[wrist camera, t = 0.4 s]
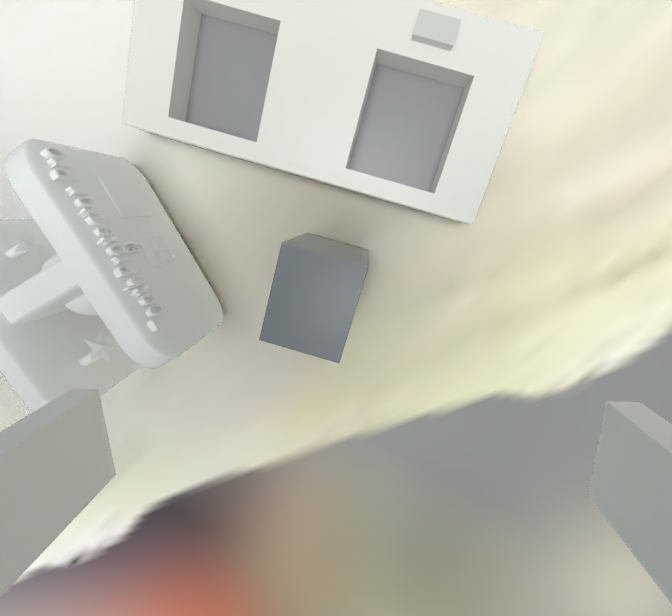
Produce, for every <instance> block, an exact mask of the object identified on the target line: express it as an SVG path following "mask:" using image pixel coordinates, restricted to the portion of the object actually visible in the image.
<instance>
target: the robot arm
mask: <svg viewBox="0 0 672 616" xmlns="http://www.w3.org/2000/svg"><path fill="white" fill-rule="evenodd" d="M115 475H116V473H115V469H114V464H113V459H112V454H111V449H110V444H109V439H108V435H107V430H106V425H105V420H104V415H103V410H102V405H101V400H100V396H99V391H98V389H71V390H69V391H67V392H66V393H64V394H62V395H61V396H59V397H57V398H56V399H54V400H53V401H51V402H49V403H48V404H46V405H44V406H43V407H41V408H39V409H38V410H36V411H34V412H33V413H31V414H29V415H28V416H26V417H25V418H23V419H21V420H20V421H18V422H16V423H15V424H13V425H11V426H10V427H8V428H6V429H5V430H3V431H2V432H0V597H1V596H2V595H3V594H4V593H5V592H6V590H7V589H8V588H9V587H10V586H11V585H12V584H13V583H14V582H15V581H16V580H17V579H18V578H19V577H20V576H21V575H22V574H23V572H24V571H25V570H26V569H27V568H28V567H29V566H30V565H31V564H32V563H33V562H34V561H35V560H36V559H37V558H38V557H39V556H40V554H41V553H42V552H43V551H44V550H45V549H46V548H47V547H48V546H49V545H50V544H51V543H52V542H53V541H54V540H55V539H56V538H57V536H58V535H59V534H60V533H61V532H62V531H63V530H64V529H65V528H66V527H67V526H68V525H69V524H70V523H71V522H72V521H73V520H74V518H75V517H76V516H77V515H78V514H79V513H80V512H81V511H82V510H83V509H84V508H85V507H86V506H87V505H88V504H89V503H90V502H91V500H92V499H93V498H94V497H95V496H96V495H97V494H98V493H99V492H100V491H101V490H102V489H103V488H104V487H105V486H106V485H107V484H108V482H109V481H110V480H111V479H112V478H113V477H114V476H115ZM588 496H589V498H590V499H591V500H592V501H593V503H594V504H595V505H596V507H597V508H598V509H599V510H600V512H601V513H602V514H603V516H604V517H605V518H606V519H607V521H608V522H609V523H610V525H611V526H612V527H613V528H614V530H615V531H616V532H617V534H618V535H619V536H620V538H621V539H622V540H623V541H624V543H625V544H626V545H627V547H628V548H629V549H630V550H631V552H632V553H633V554H634V556H635V557H636V558H637V559H638V561H639V562H640V563H641V565H642V566H643V567H644V568H645V570H646V571H647V572H648V574H649V575H650V576H651V578H652V579H653V580H654V581H655V582H656V584H657V585H658V587H659V588H660V589H661V590H662V592H663V593H664V594H665V596H666V597H667V598H668V599H669V601H670V602H671V603H672V425H671V424H670V423H669V422H667V421H666V420H664V419H663V418H661V417H660V416H659V415H657V414H656V413H654V412H653V411H652V410H650V409H649V408H647V407H646V406H644V405H643V404H642V403H640V402H609V401H607V402H606V406H605V411H604V416H603V421H602V426H601V431H600V436H599V442H598V447H597V452H596V457H595V462H594V467H593V472H592V477H591V483H590V488H589V493H588Z"/></svg>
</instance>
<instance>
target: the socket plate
mask: <svg viewBox="0 0 672 616" xmlns="http://www.w3.org/2000/svg"><path fill="white" fill-rule="evenodd" d="M543 35H544V32H541V31H537V30H534V29H530V28H526V27H523V26H519V25H516V24H512V23H509V22H505V21H502V20H498V19H495V18H491V17H488V16H484V15H480V14H477V13H473V12H470V11H466V10H463V9H459V8H456V7H452V6H449V5H445V4H441V3H438V2H434V1H431V0H135V1H134V11H133V21H132V30H131V40H130V50H129V60H128V70H127V80H126V90H125V100H124V110H123V120H122V123H123V124H126V125H129V126H131V127H134V128H137V129H140V130H143V131H146V132H148V133H151V134H155V135H158V136H162V137H165V138H169V139H172V140H176V141H179V142H183V143H186V144H190V145H193V146H197V147H200V148H204V149H207V150H211V151H214V152H217V153H221V154H224V155H228V156H231V157H235V158H238V159H242V160H245V161H249V162H252V163H256V164H259V165H263V166H266V167H270V168H273V169H277V170H280V171H283V172H287V173H290V174H294V175H297V176H301V177H304V178H308V179H311V180H315V181H318V182H322V183H325V184H329V185H332V186H336V187H339V188H342V189H346V190H349V191H353V192H356V193H360V194H363V195H367V196H370V197H374V198H377V199H381V200H384V201H388V202H391V203H395V204H398V205H402V206H405V207H408V208H412V209H415V210H419V211H422V212H426V213H429V214H433V215H436V216H440V217H443V218H447V219H450V220H454V221H457V222H461V223H468V224H473V223H474V220H475V217H476V215H477V212H478V209H479V207H480V204H481V201H482V199H483V196H484V193H485V190H486V188H487V185H488V182H489V180H490V177H491V174H492V172H493V169H494V166H495V164H496V161H497V158H498V156H499V153H500V150H501V148H502V145H503V142H504V140H505V137H506V134H507V132H508V129H509V126H510V124H511V121H512V118H513V116H514V113H515V110H516V108H517V105H518V102H519V99H520V97H521V94H522V91H523V89H524V86H525V83H526V81H527V78H528V75H529V73H530V70H531V67H532V65H533V62H534V59H535V57H536V54H537V51H538V49H539V46H540V43H541V41H542V38H543Z"/></svg>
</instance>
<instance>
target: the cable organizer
mask: <svg viewBox="0 0 672 616" xmlns="http://www.w3.org/2000/svg"><path fill="white" fill-rule="evenodd" d="M4 168H5V172H6V175H7V178H8V180H9V182H10V184H11V186H12V187H13V189H14V191H15V192H16V194H17V195H18V197H19V198H20V199H21V201H22V202H23V204H24V205H25V207H26V208H27V210H28V211H29V213H30V214H31V216H32V217H33V219H30V220H0V372H1V373H2V374H3V376H4V377H5V378H6V380H7V381H8V382H9V383H10V385H11V386H12V387H13V389H14V390H15V391H16V393H17V394H18V395H19V397H20V398H21V399H22V400H23V402H24V403H25V404H26V405H27V406H28V407H29V408H30V409H31V410H33V411H36V410H38V409H39V408H41V407H43V406H44V405H46V404H48V403H49V402H51V401H53V400H54V399H56V398H57V397H59V396H61V395H62V394H64V393H66V392H67V391H69V390H71V389H98V391H99V396H100V395H102V394H103V393H104V392H106V391H107V390H109V389H110V388H112V387H113V386H115V385H116V384H117V383H119V382H120V381H122V380H123V379H125V378H126V377H128V376H129V375H130V374H132V373H133V372H135V371H136V370H138V369H139V368H141V367H142V366H144V367H147V368H157V367H159V366H161V365H163V364H165V363H167V362H169V361H171V360H173V359H175V358H177V357H178V356H179V355H181V354H182V353H183V352H185V351H186V350H187V349H189V348H190V347H191V346H192V345H194V344H195V343H196V342H198V341H199V340H200V339H202V338H203V337H204V336H205V335H207V334H208V333H209V332H211V331H212V330H213V329H215V328H216V327H217V326H218V325H220V324H221V323H222V321H223V312H222V308H221V305H220V303H219V300H218V298H217V296H216V294H215V293H214V291H213V289H212V288H211V286H210V284H209V283H208V281H207V279H206V278H205V276H204V274H203V273H202V271H201V269H200V268H199V266H198V264H197V263H196V261H195V259H194V258H193V256H192V254H191V253H190V251H189V249H188V248H187V246H186V244H185V243H184V241H183V239H182V238H181V236H180V234H179V233H178V231H177V229H176V228H175V226H174V224H173V223H172V221H171V219H170V218H169V216H168V214H167V213H166V211H165V209H164V208H163V206H162V204H161V203H160V201H159V199H158V198H157V196H156V194H155V193H154V191H153V189H152V188H151V186H150V185H149V183H148V182H147V180H146V179H145V178H144V176H143V175H142V174H141V173H140V172H139V171H138V169H137V168H136V167H134V166H133V165H132V164H131V163H130V162H128V161H127V160H125V159H123V158H121V157H116V156H111V155H107V154H102V153H97V152H93V151H88V150H83V149H78V148H74V147H69V146H64V145H60V144H55V143H50V142H45V141H41V140H35V139H31V140H28V141H26V142H25V143H23V144H22V145H21V146H19V147H18V148H16V149H15V150H14V151H12V152H11V153H9V154H8V155H7V156H6V158H5V161H4Z"/></svg>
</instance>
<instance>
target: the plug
mask: <svg viewBox="0 0 672 616" xmlns="http://www.w3.org/2000/svg"><path fill="white" fill-rule="evenodd" d="M367 270H368V250H365V249H362V248H358V247H355V246H351V245H348V244H345V243H341V242H338V241H334V240H331V239H327V238H324V237H320V236H317V235H313V234H310V233H306V234H303V235H301V236H298V237H295V238H293V239H290V240H287V241H285V242H282V244H281V249H280V253H279V257H278V261H277V266H276V270H275V274H274V279H273V283H272V287H271V292H270V296H269V300H268V305H267V309H266V313H265V317H264V322H263V326H262V330H261V335H260V339H259V340H262V341H265V342H268V343H272V344H275V345H279V346H282V347H286V348H289V349H292V350H296V351H299V352H303V353H306V354H309V355H313V356H316V357H320V358H323V359H327V360H330V361H333V362H337V363H339V362H340V359H341V356H342V353H343V349H344V346H345V343H346V339H347V336H348V333H349V330H350V326H351V323H352V320H353V316H354V313H355V310H356V307H357V303H358V300H359V297H360V293H361V290H362V287H363V284H364V280H365V277H366V274H367Z"/></svg>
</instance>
